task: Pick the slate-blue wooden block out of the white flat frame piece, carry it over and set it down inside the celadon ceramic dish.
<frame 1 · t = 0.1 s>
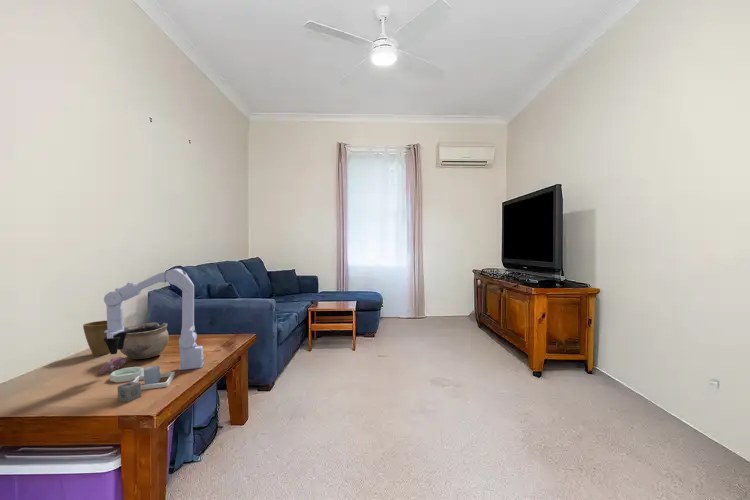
hand: (116, 351, 171), 10 cm above the table, tool pointing down, fingers open, 7 cm apart
ceramic dish: (127, 377, 168), on the table
slate block: (152, 383, 160), resting in white flat frame piece
white flat frame piece: (152, 382, 160), on the table
video game controller: (113, 371, 178), on the table
dice cube: (129, 399, 144), on the table
plant pot: (102, 354, 207), on the table
ceramic bowl: (144, 357, 197), on the table
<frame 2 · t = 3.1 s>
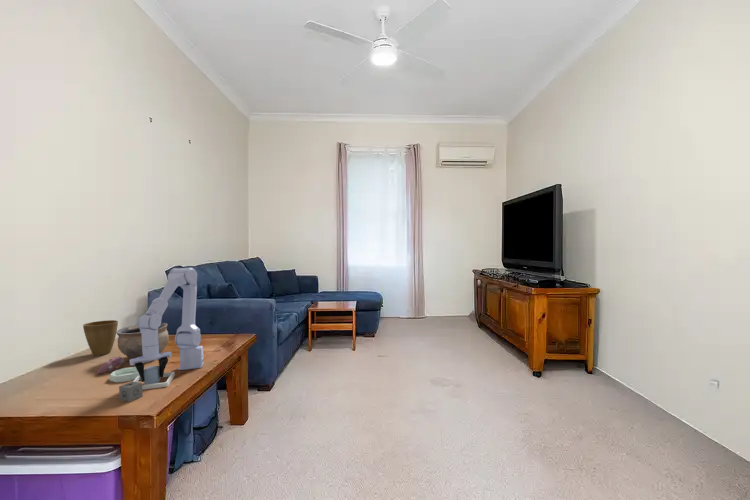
hand: (152, 378, 160), 2 cm above the table, tool pointing down, fingers closed on slate block, 6 cm apart
slate block: (152, 383, 160), resting in white flat frame piece, touching gripper
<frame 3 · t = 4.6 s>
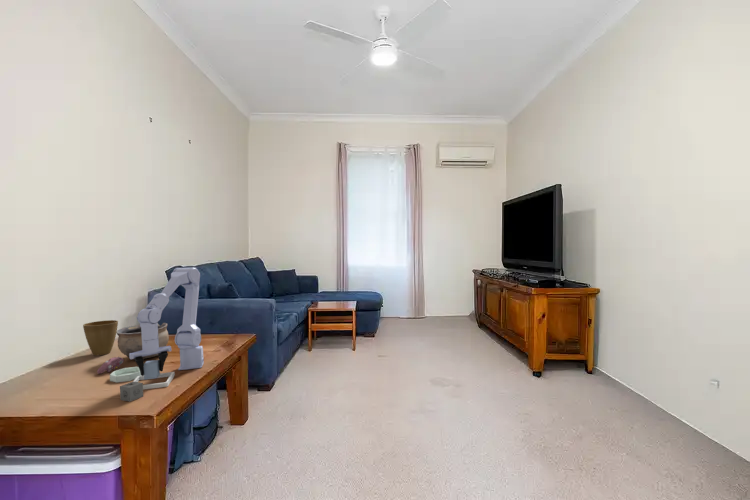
hand: (151, 372, 160), 4 cm above the table, tool pointing down, fingers closed on slate block, 6 cm apart
slate block: (152, 377, 160), point 2 cm above the table, touching gripper
everything else where it was.
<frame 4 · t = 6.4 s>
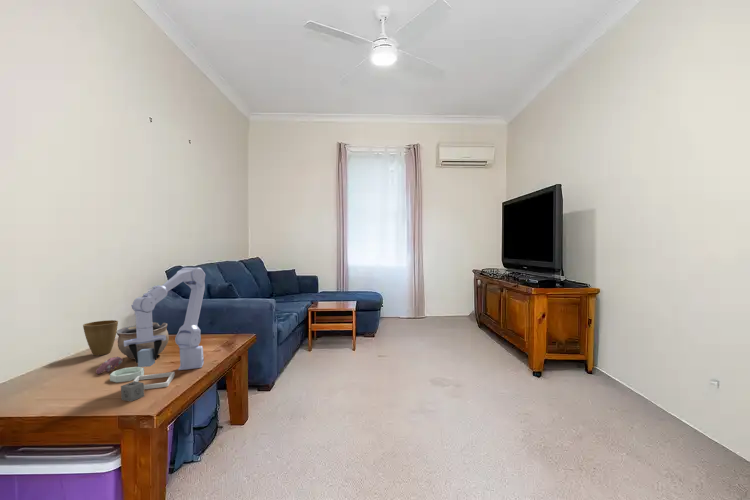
hand: (146, 361, 161), 8 cm above the table, tool pointing down, fingers closed on slate block, 6 cm apart
slate block: (146, 365, 161), point 7 cm above the table, touching gripper
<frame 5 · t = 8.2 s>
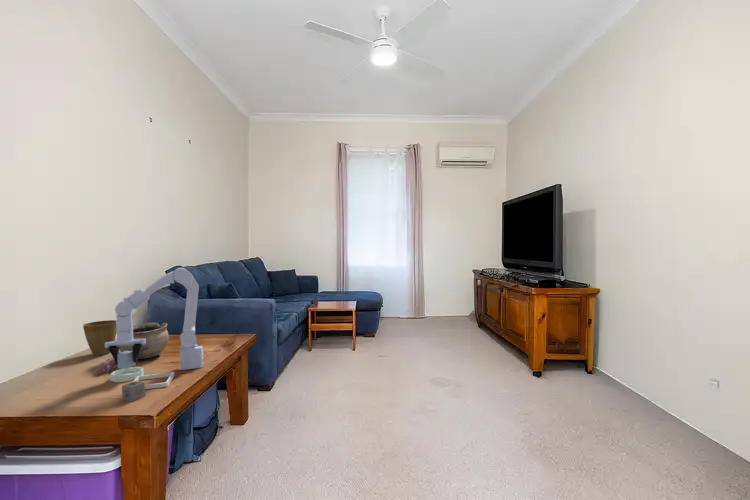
hand: (126, 362, 168), 6 cm above the table, tool pointing down, fingers closed on slate block, 6 cm apart
slate block: (126, 366, 168), point 4 cm above the table, touching gripper
when the fingers open (4 cm above the table, at t = 9.7 s): slate block drops 1 cm, resting on ceramic dish.
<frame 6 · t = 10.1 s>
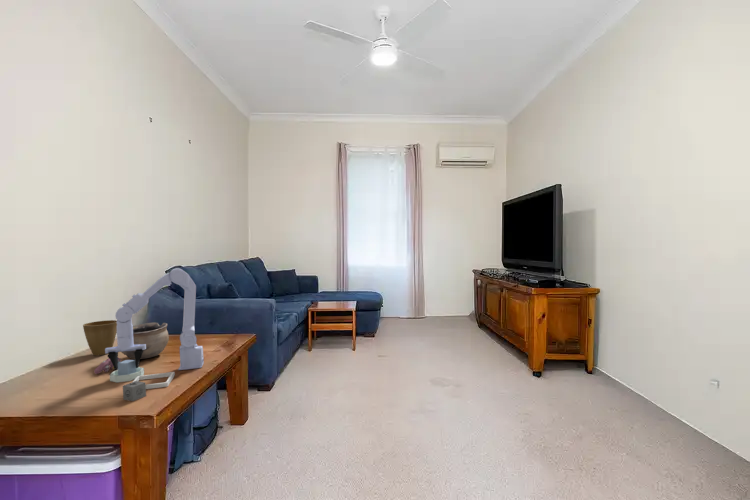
hand: (126, 368, 168), 4 cm above the table, tool pointing down, fingers open, 7 cm apart
slate block: (127, 375, 168), point 1 cm above the table, touching ceramic dish
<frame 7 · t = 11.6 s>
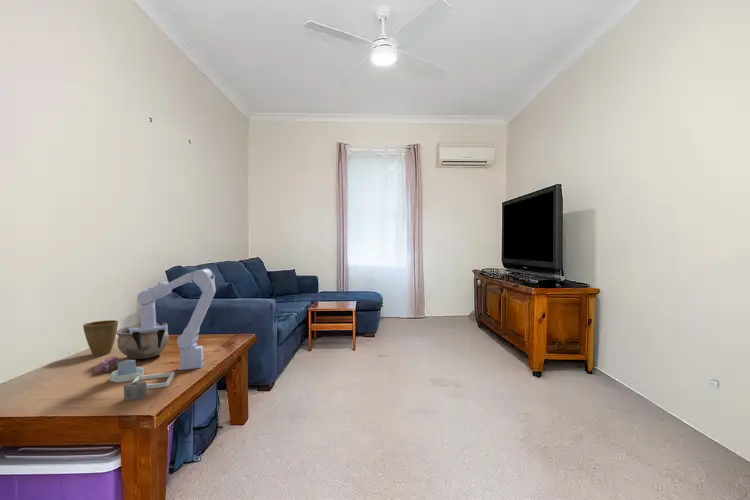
hand: (149, 348, 177), 9 cm above the table, tool pointing down, fingers open, 7 cm apart
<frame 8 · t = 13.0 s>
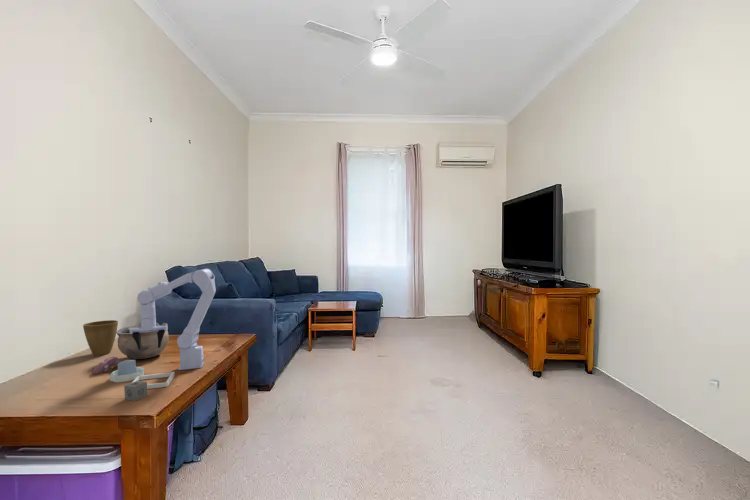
hand: (149, 348, 177), 9 cm above the table, tool pointing down, fingers open, 7 cm apart
at the end: slate block 0.0 cm off-centre on the ceramic dish, point 0.6 cm above the ceramic dish's base; the gripper is holding nothing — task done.
